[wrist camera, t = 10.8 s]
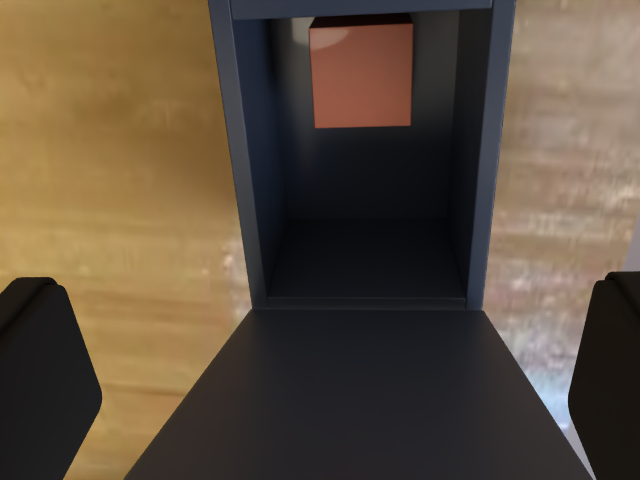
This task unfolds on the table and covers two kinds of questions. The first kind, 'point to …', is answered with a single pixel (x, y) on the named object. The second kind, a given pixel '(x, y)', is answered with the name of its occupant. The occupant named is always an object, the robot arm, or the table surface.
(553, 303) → the table surface
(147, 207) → the table surface
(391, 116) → the block
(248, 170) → the chest
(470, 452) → the lid
